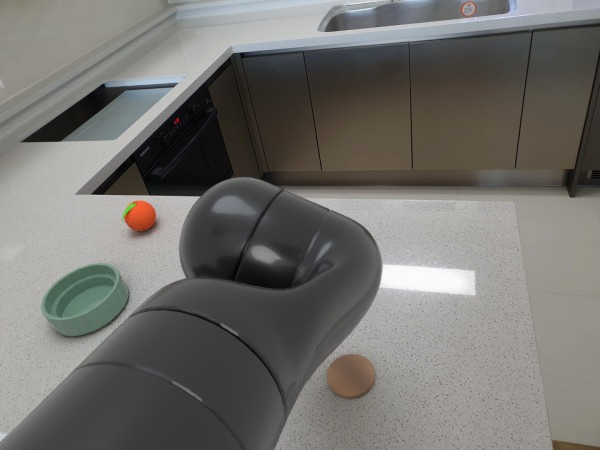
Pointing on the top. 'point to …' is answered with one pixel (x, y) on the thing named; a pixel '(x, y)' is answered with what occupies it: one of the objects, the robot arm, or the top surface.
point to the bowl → (85, 299)
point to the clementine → (139, 215)
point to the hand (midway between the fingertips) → (310, 275)
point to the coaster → (351, 376)
